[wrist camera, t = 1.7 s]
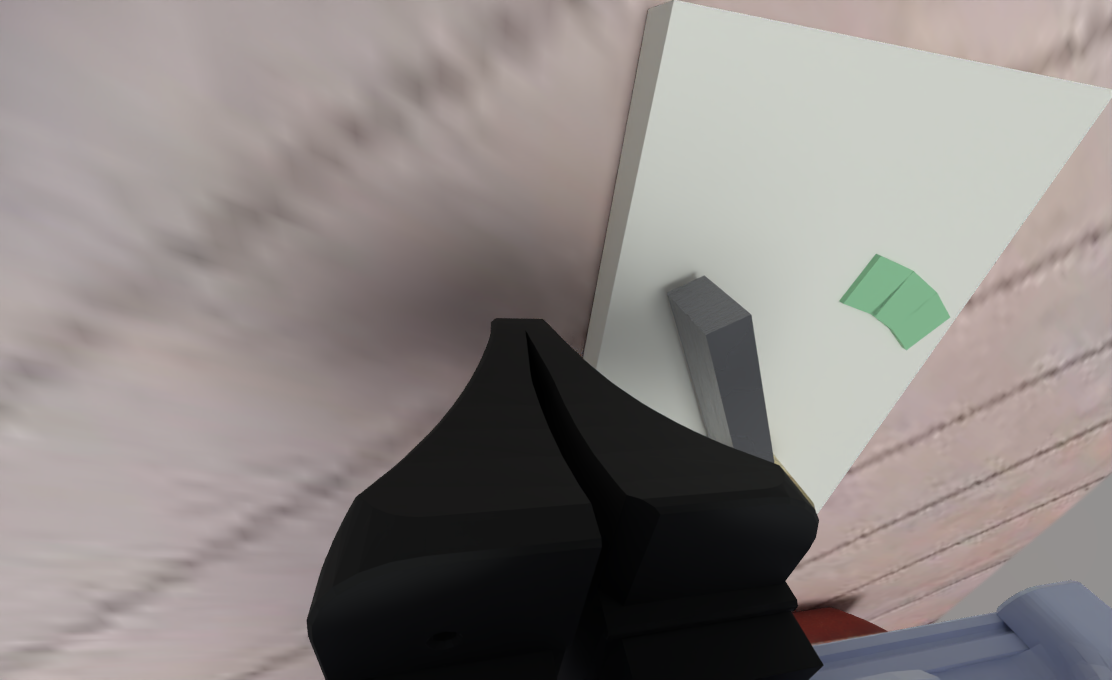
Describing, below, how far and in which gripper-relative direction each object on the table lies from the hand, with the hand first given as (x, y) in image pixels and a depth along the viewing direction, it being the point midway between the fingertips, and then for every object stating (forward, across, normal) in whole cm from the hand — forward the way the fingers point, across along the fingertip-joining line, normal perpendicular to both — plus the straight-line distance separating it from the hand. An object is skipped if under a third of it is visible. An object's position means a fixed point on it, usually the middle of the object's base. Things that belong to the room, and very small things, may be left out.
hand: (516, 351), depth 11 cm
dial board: (+3, -10, +2) cm, 11 cm away
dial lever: (+1, -8, +4) cm, 9 cm away
